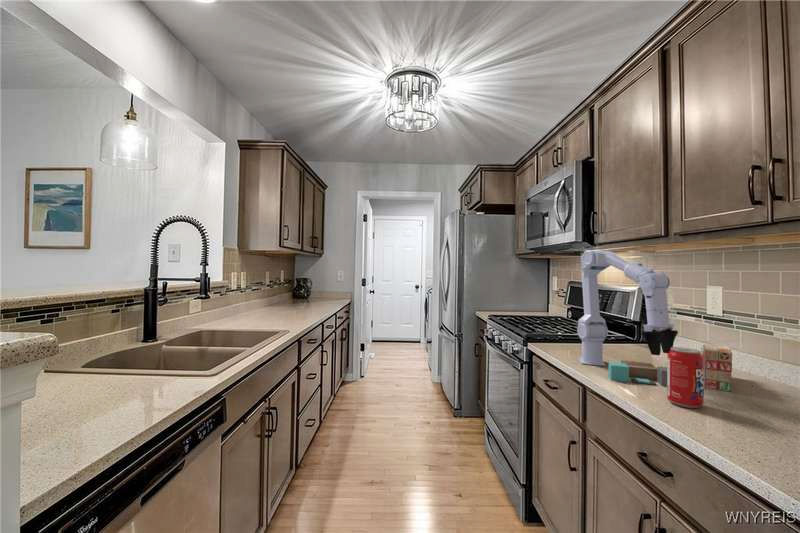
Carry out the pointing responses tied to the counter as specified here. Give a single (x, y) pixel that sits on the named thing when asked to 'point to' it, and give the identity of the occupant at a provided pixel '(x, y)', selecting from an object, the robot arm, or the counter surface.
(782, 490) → the counter surface
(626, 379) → the teal cube
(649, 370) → the walnut block
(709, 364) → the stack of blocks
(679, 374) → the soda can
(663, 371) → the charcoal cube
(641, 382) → the mat
